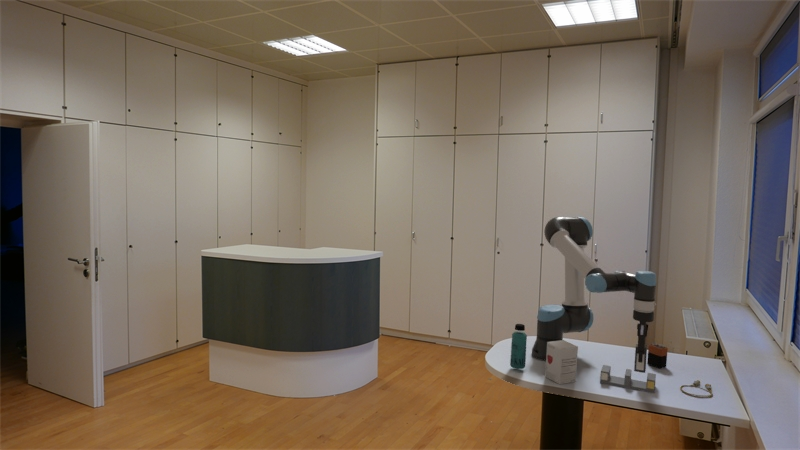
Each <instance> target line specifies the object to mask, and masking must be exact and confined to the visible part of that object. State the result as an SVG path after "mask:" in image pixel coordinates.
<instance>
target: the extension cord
mask: <svg viewBox="0 0 800 450" xmlns="http://www.w3.org/2000/svg"><path fill="white" fill-rule="evenodd" d="M700 384H701V380H694V381H693V383H692V384H690V385H687V384H684V385H681V386H680V388H679V389H680V391H681V392H682V393H684V394H686V395H688V396H691V397H695V398H706V399H707V398H712V397H713V396H714V394H713V392H712V384H709V383H706V384H705V385H704V387H705V388H706V389H705V388H703V387H700V386H699V385H700ZM684 387H692V388H697V389H701V390H703V391H706V392H708V393H710V395H709V394H708V395H706V396H705V394H704V395H700V394H694V393H689V392H686V391H684V390H683V388H684Z"/></svg>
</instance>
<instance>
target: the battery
mask: <svg viewBox="0 0 800 450" xmlns="http://www.w3.org/2000/svg"><path fill="white" fill-rule="evenodd" d="M667 361H668V347H667V346H665V345H664V344H658V343H656V342H652V343H651V344H648V346H647V360H646V365H649V366H652V367H654V368H658V369H664V368H667V364H668V363H667Z"/></svg>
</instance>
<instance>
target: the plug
mask: <svg viewBox="0 0 800 450" xmlns="http://www.w3.org/2000/svg"><path fill="white" fill-rule="evenodd" d="M637 349H638V343H636V344H635V350H634V351H635V352H637ZM644 352H645V356H644V370H637V369H636V362H637V354H636V353H634V366H633V367H634V368H633V371H634V372H638V373H643V374H646V369H647V357H648V345H646V344H645V349H644Z"/></svg>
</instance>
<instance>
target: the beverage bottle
mask: <svg viewBox="0 0 800 450" xmlns="http://www.w3.org/2000/svg"><path fill="white" fill-rule="evenodd" d="M525 327H526V325H524V324H523V323H515V325H514V330H515V331H513V333H512V334H511V345H510V346H511V347H510V361H509V363H510V368H511V369H512V368H513V369H515V370H523V369H525V367H526V359H527V340H528V339H527V337H528V335H527V334H526V333H525V332H524V331H525V330H526V328H525Z"/></svg>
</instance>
